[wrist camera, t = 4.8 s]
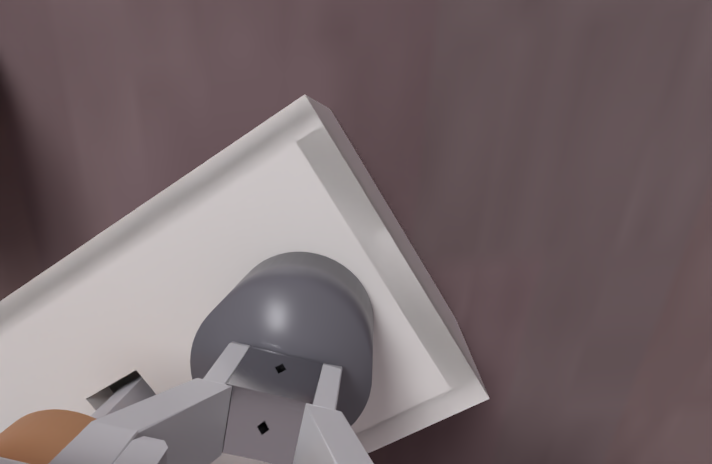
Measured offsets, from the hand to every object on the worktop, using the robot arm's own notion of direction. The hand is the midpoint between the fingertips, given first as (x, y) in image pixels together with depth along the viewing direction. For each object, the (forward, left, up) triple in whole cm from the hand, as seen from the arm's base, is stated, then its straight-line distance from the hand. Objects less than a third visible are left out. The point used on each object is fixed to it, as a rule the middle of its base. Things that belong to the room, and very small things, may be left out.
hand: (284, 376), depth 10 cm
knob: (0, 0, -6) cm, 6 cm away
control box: (-8, 0, -9) cm, 12 cm away
